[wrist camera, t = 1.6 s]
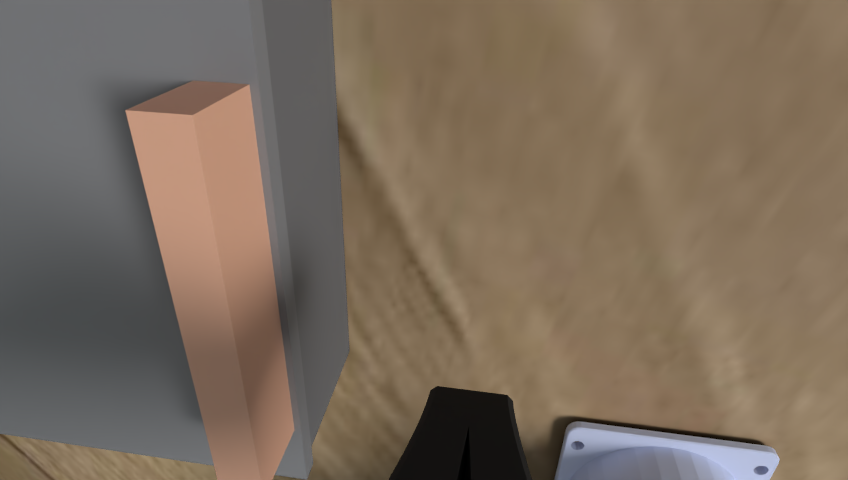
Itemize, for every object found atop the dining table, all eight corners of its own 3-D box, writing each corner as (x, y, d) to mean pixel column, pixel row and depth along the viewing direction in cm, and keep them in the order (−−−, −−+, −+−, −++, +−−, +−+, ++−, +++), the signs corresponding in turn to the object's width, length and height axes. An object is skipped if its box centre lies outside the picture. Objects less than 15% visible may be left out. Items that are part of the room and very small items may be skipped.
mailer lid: (313, 463, 17) (280, 548, 15) (-31, 413, 19) (-112, 483, 16) (257, -40, 10) (177, -34, 8) (-292, -62, 11) (-507, -63, 9)
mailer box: (349, 350, 22) (308, 453, 17) (78, 318, 23) (-23, 405, 19) (329, -38, 15) (253, -29, 10) (-58, -53, 16) (-267, -51, 12)
